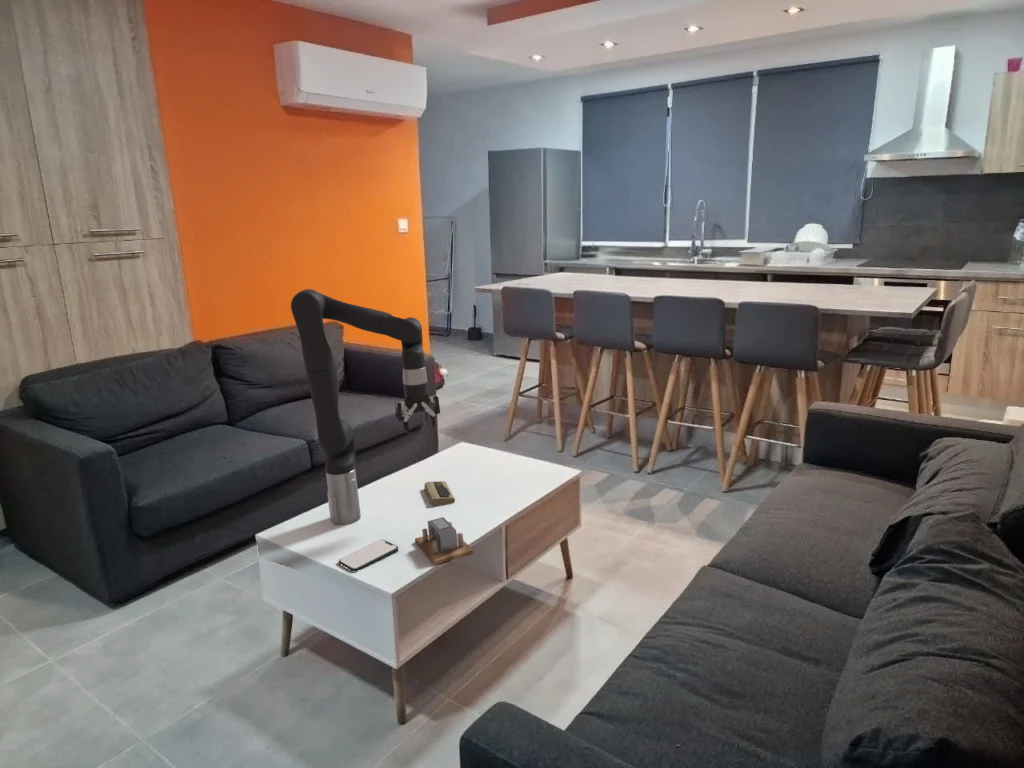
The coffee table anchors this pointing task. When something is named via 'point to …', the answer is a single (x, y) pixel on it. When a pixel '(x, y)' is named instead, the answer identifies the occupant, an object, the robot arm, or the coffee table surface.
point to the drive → (443, 534)
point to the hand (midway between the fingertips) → (419, 429)
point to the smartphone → (369, 555)
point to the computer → (439, 493)
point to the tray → (434, 553)
